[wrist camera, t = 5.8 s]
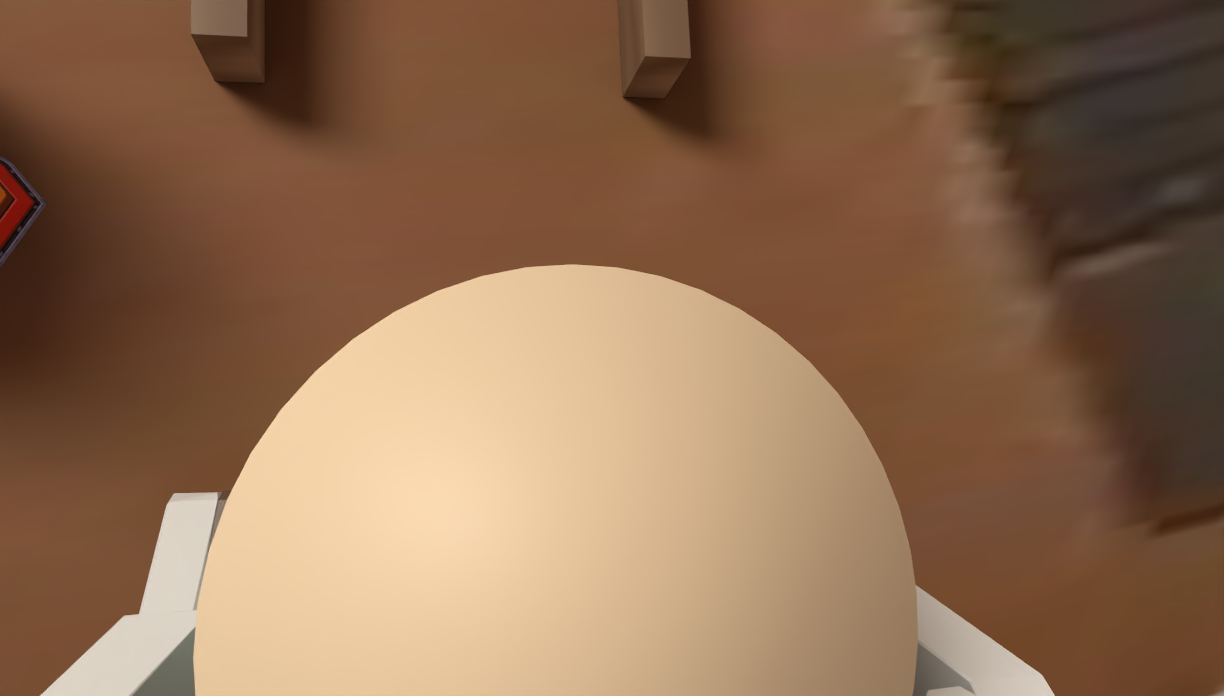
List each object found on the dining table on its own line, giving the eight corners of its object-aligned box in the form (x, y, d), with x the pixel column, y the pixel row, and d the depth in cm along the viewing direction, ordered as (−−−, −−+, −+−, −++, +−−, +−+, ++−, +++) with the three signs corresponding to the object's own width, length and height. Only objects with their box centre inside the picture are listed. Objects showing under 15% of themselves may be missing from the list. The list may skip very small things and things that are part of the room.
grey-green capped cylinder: (320, 708, 15) (187, 1098, 6) (319, 389, 16) (197, 263, 6) (631, 676, 17) (948, 955, 7) (616, 381, 17) (889, 265, 8)
